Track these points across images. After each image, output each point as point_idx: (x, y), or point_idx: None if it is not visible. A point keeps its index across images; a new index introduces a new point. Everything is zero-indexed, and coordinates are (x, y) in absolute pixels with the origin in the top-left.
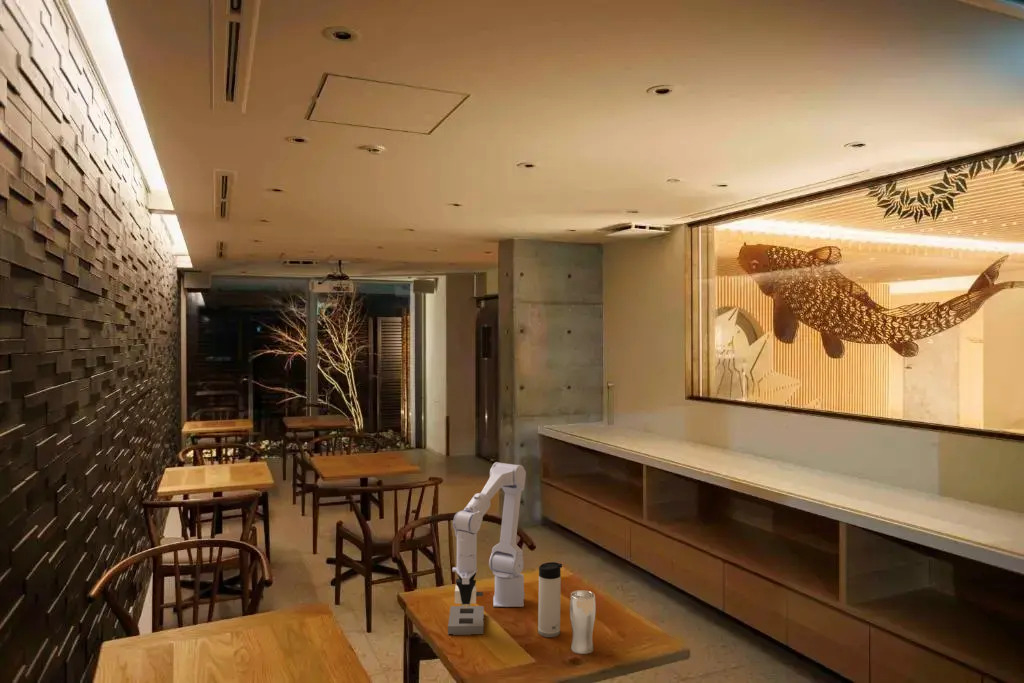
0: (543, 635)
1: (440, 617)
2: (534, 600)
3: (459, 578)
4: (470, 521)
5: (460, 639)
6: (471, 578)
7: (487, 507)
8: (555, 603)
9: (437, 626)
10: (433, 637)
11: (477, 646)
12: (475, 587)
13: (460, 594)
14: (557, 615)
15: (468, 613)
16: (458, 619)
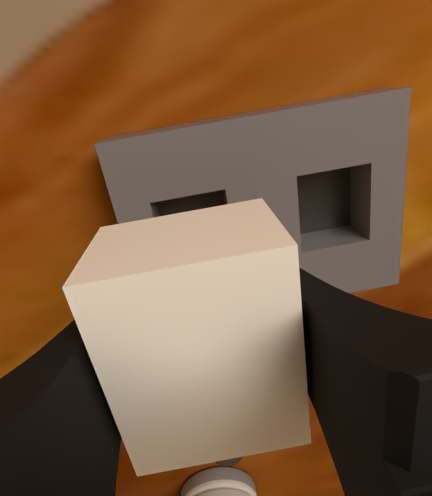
0: (184, 486)
1: (339, 28)
2: None
3: (343, 344)
4: None
5: (75, 216)
6: (344, 477)
7: None
8: None
9: (207, 40)
10: (49, 52)
11: (30, 304)
12: (236, 453)
13: (44, 346)
14: None
15: (298, 227)
16: (208, 187)
